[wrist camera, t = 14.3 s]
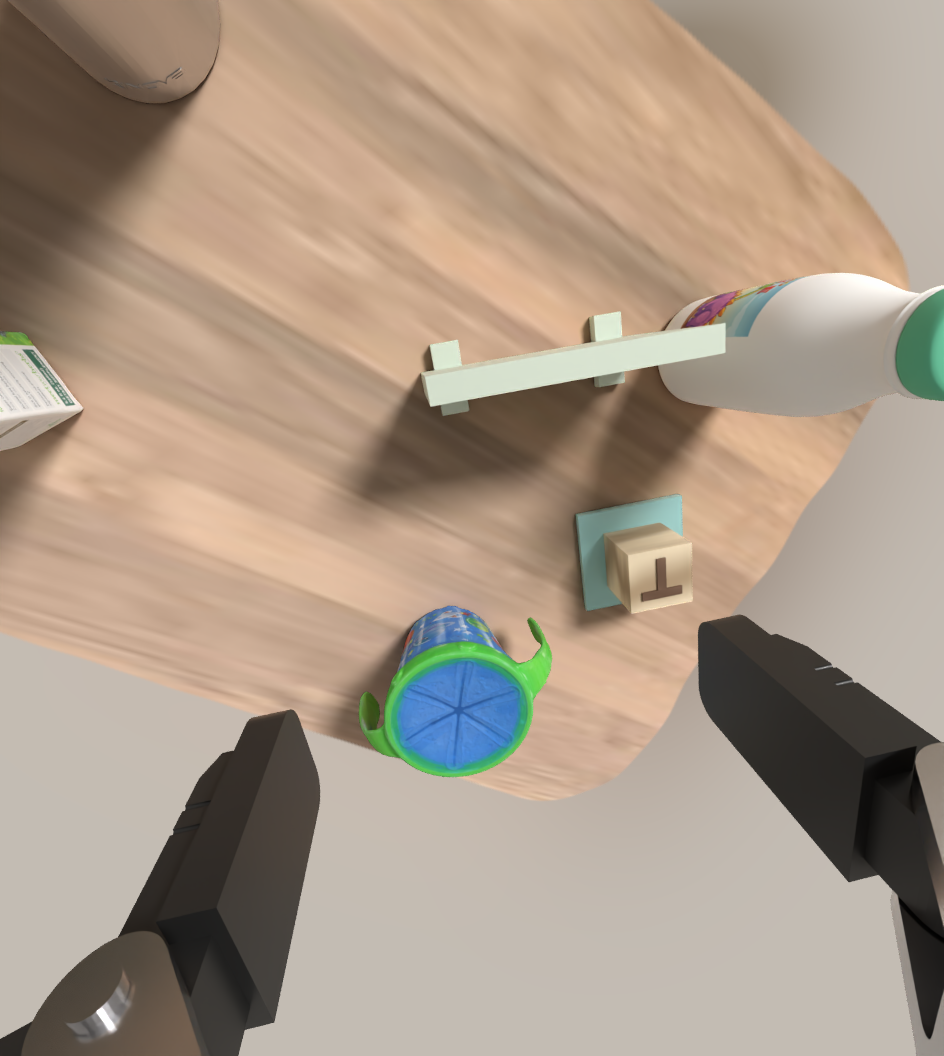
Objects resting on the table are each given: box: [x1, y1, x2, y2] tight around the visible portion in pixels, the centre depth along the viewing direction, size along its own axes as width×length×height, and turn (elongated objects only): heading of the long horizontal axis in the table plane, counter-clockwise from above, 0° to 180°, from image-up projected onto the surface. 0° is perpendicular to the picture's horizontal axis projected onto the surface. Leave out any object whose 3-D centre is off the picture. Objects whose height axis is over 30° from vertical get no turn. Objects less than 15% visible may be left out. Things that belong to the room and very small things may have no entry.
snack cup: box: [359, 606, 552, 777], centre depth 39 cm, size 16×11×10 cm
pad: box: [576, 494, 683, 611], centre depth 42 cm, size 9×9×1 cm
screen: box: [421, 311, 726, 416], centre depth 31 cm, size 5×16×12 cm, turn 99°
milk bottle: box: [658, 273, 944, 417], centre depth 29 cm, size 8×8×20 cm
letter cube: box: [603, 523, 693, 614], centre depth 40 cm, size 5×5×5 cm
